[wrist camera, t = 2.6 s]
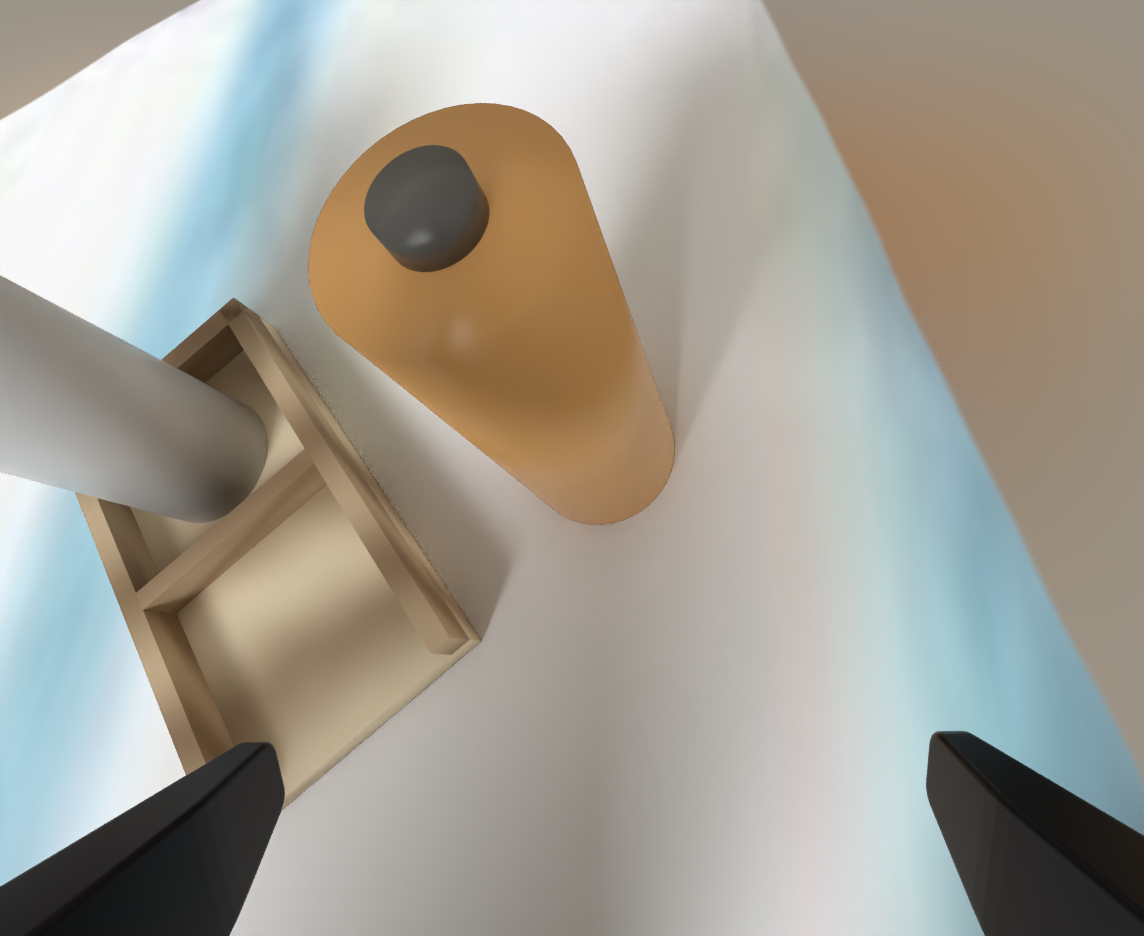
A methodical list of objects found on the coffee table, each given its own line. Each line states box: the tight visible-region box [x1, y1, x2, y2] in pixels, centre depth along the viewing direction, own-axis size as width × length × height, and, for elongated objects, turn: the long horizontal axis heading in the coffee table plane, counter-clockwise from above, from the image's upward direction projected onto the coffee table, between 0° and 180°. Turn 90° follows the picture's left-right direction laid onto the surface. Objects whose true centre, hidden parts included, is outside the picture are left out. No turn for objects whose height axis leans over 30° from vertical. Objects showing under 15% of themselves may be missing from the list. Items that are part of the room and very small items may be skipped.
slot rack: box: [75, 298, 481, 810], centre depth 25 cm, size 18×10×2 cm, turn 38°
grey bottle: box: [0, 276, 268, 523], centre depth 21 cm, size 5×5×14 cm
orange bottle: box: [308, 103, 675, 525], centre depth 17 cm, size 5×5×14 cm
